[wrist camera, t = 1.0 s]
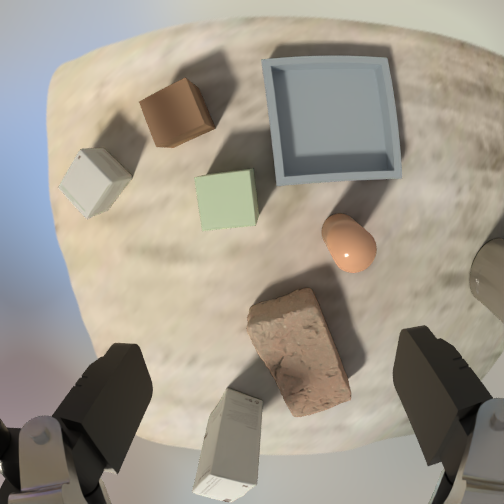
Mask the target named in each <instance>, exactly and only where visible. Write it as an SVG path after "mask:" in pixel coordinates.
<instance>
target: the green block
mask: <svg viewBox="0 0 504 504" xmlns="http://www.w3.org/2000/svg"><path fill="white" fill-rule="evenodd" d="M194 179H195V186H196V193H197V200H198V207H199V214H200V220H201V227H202V231H208V230H217V229H227V228H237V227H247V226H256V223H257V220H258V217H259V211H258V202H257V193H256V185H255V176H254V168H253V169H244V170H236V171H228V172H220V173H213V174H206V175H202V176H199V177H195V178H194Z"/></svg>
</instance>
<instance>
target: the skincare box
mask: <svg viewBox="0 0 504 504" xmlns="http://www.w3.org/2000/svg"><path fill="white" fill-rule="evenodd" d="M262 407H263V401H262V400H260V399H257V398H253V397H250V396H248V395H245V394H243V393H240V392H238V391H235V390H232V389H230V388H227V389H226V391H225V393H224V395H223V397H222V399H221V400H220V402H219V404H218V405H217V407H216V408H215V409H214V411H213V412H212V413H211V415H210V416H209V420H208V424H207V428H206V433H205V437H204V441H203V446H202V450H201V455H200V459H199V464H198V470H197V474H196V478H195V482H194V486H193V490H192V493H194V494H198V495H201V496H205V497H209V498H213V499H217V500H221V501H225V502H230V503H232V502H233V501H235V500H236V499H237V498H239V497H242V496H244V495H245V493H246V492H247V491H248V490H250V489H251V488H253V487H254V486H256V485H257V479H258V465H259V452H260V438H261V423H262Z"/></svg>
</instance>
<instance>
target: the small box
mask: <svg viewBox="0 0 504 504" xmlns="http://www.w3.org/2000/svg"><path fill="white" fill-rule="evenodd" d="M131 179H132V176H131V175H130V173H129V172H128V171H127V170H126V169H125V168H124V167H123V166H122V165H121V164H120V163H119V162H118V161H117V160H116V159H114V158H113V157H112V156H111V155H110V153H109V152H107V151H106V150H105V149H104V148H86V149H80V151H79V152H78V154H77V156H76V157H75V159H74V161H73V162H72V164H71V166H70V167H69V169H68V171H67V173H66V174H65V176H64V178H63V180H62V181H61V183H60V185H59V187H58V188H59V189H60V190H61V192H62V193H63V194H64V195H65V196H66V197H67V198H68V200H69V201H70V202H71V203H72V204H73V205H74V206H75V207H76V208H77V209H78V210H79V212H80V213H81V214H82V215H83V216H84V217H85V218H86V219H88V218H91V217H93V216H96V215H98V214H101V213H103V212H106V211H108V210H109V208H110V207H111V206H112V204H113V203H114V202H115V200H116V199H117V198H118V196H119V195H120V194H121V192H122V191H123V190H124V188H125V187H126V186H127V184H128V183H129V182H130V180H131Z"/></svg>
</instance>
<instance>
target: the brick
mask: <svg viewBox="0 0 504 504" xmlns="http://www.w3.org/2000/svg"><path fill="white" fill-rule="evenodd" d="M247 320H248V324H247V328H246V329H247V332H248V334H249V336H250V338H251V340H252V343H253V345H254V346H255V349H256V351H257V353H258V355H259V356H260V358H261V359H262V360H263V361H264V363H265V365H266V367H267V368H268V369H269V370H270V373H271V375H272V376H273V377H274V379H275V381H276V384H277V386H278V388H279V389H280V391H281V395H282V396H283V399H284V401H285V403H286V404H287V406H288V408H289V409H290V411H291V413H292V415H293V416H294V417H302V416H306V415H311V414H314V413H317V412H320V411H324V410H327V409H329V408H331V407H334V406H336V405H338V404H340V403H343V402H346V401H349V400H351V390H350V387H349V381H348V377H347V375H346V373H345V370H344V367H343V365H342V362H341V359H340V356H339V354H338V351H337V348H336V347H335V344H334V341H333V339H332V336H331V334H330V332H329V329H328V327H327V324H326V321H325V319H324V317H323V314H322V311H321V308H320V305H319V303H318V301H317V299H316V297H315V295H314V293H313V291H312V289H310V288H303V289H301V290H295V291H293V292H292V293H290V294H287V295H286V296H282V297H278V298H276V299H272V300H269V301H263V302H260V303H258V304H256V305H253V306H252V307H251V308H250V309H249V315H248V317H247Z"/></svg>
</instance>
